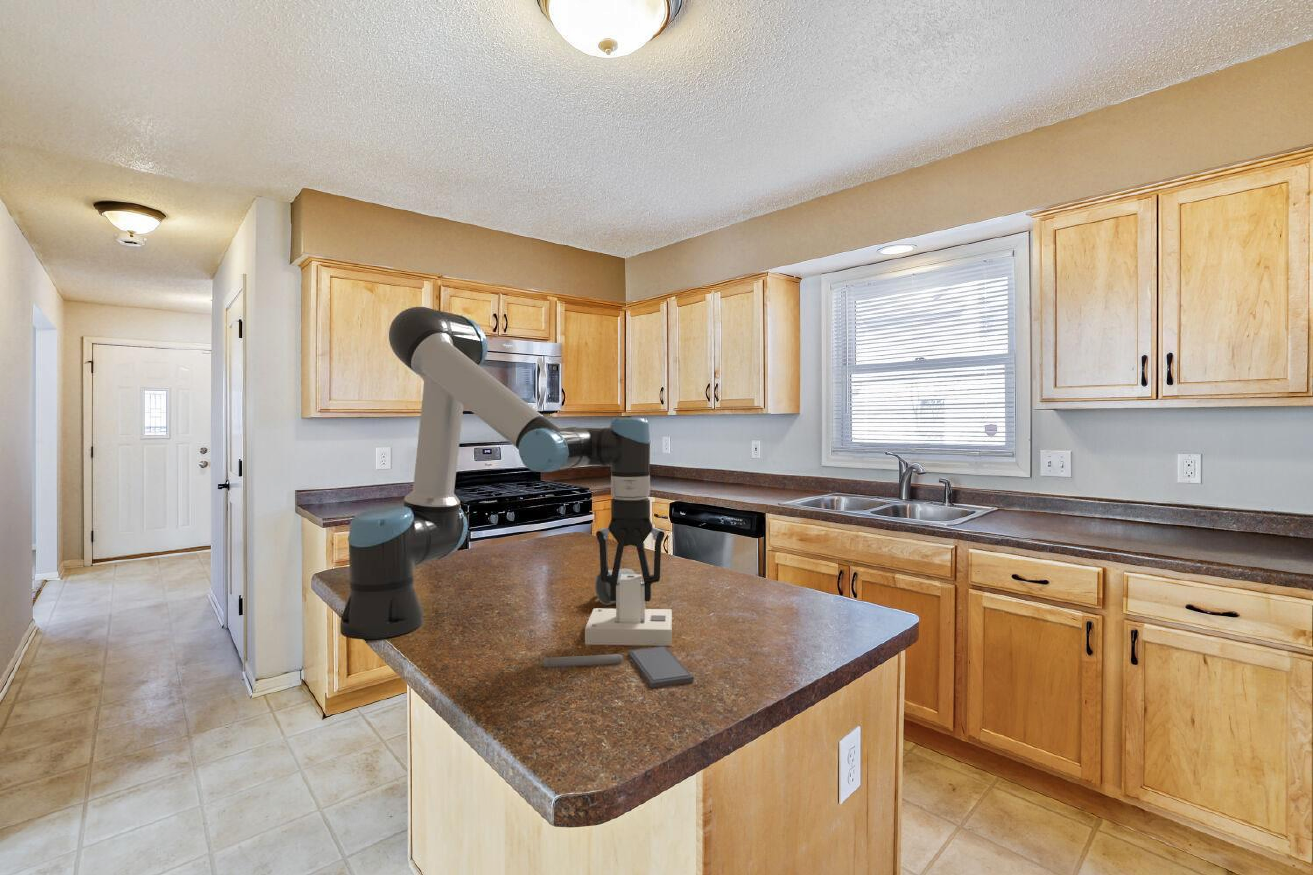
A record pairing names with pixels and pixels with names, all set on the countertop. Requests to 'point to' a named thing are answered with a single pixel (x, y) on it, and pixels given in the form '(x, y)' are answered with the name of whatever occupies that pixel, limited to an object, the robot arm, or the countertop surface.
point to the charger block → (630, 598)
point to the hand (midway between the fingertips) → (630, 616)
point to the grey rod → (582, 660)
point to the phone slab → (660, 666)
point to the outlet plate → (629, 628)
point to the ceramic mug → (608, 586)
